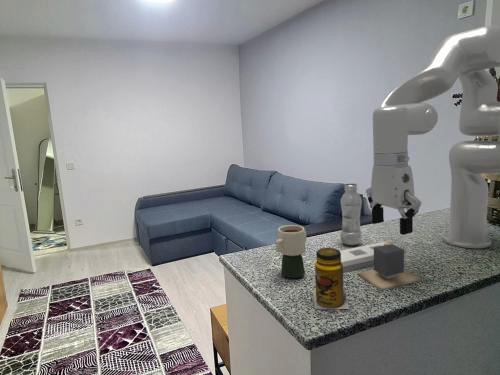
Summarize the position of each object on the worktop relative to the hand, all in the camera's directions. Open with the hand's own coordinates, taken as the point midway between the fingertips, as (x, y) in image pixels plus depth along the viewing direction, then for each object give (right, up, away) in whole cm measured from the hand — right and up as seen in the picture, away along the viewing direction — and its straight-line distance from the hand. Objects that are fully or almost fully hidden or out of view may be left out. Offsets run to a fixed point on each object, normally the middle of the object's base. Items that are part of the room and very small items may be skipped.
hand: (391, 227), depth 82 cm
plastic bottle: (-2, -9, +26) cm, 28 cm away
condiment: (-17, -16, -7) cm, 24 cm away
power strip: (-2, -11, +12) cm, 17 cm away
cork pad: (0, -13, +2) cm, 13 cm away
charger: (0, -12, +2) cm, 12 cm away
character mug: (-24, -14, +7) cm, 28 cm away
